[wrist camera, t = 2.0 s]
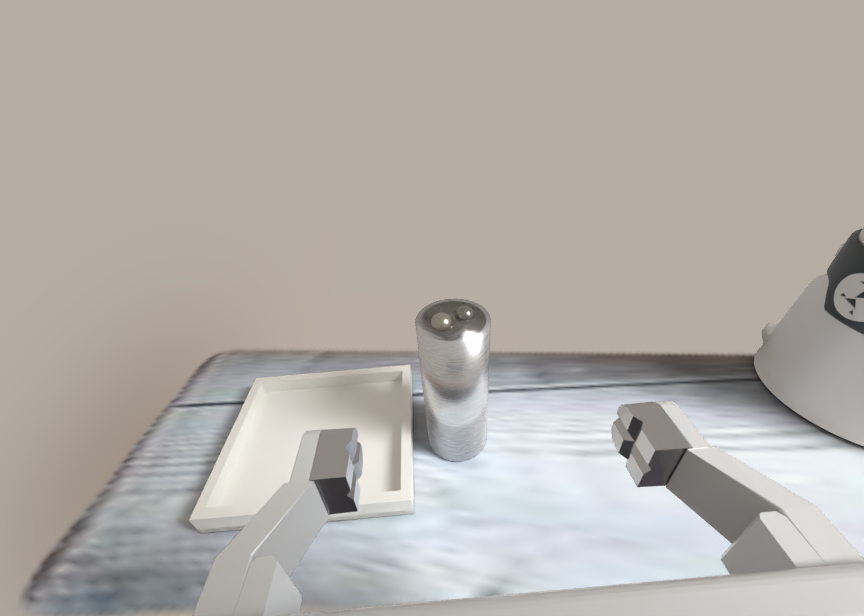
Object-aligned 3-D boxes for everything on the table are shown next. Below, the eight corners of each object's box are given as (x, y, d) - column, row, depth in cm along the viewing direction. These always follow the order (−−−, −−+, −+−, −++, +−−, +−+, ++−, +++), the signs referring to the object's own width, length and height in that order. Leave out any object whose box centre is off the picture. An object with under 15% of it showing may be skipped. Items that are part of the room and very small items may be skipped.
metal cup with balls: (481, 409, 35) (483, 287, 27) (491, 458, 30) (498, 330, 23) (427, 414, 35) (413, 293, 27) (429, 464, 30) (415, 337, 22)
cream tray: (411, 378, 39) (410, 364, 38) (414, 513, 27) (411, 500, 26) (262, 391, 38) (255, 378, 37) (200, 533, 27) (188, 520, 26)
